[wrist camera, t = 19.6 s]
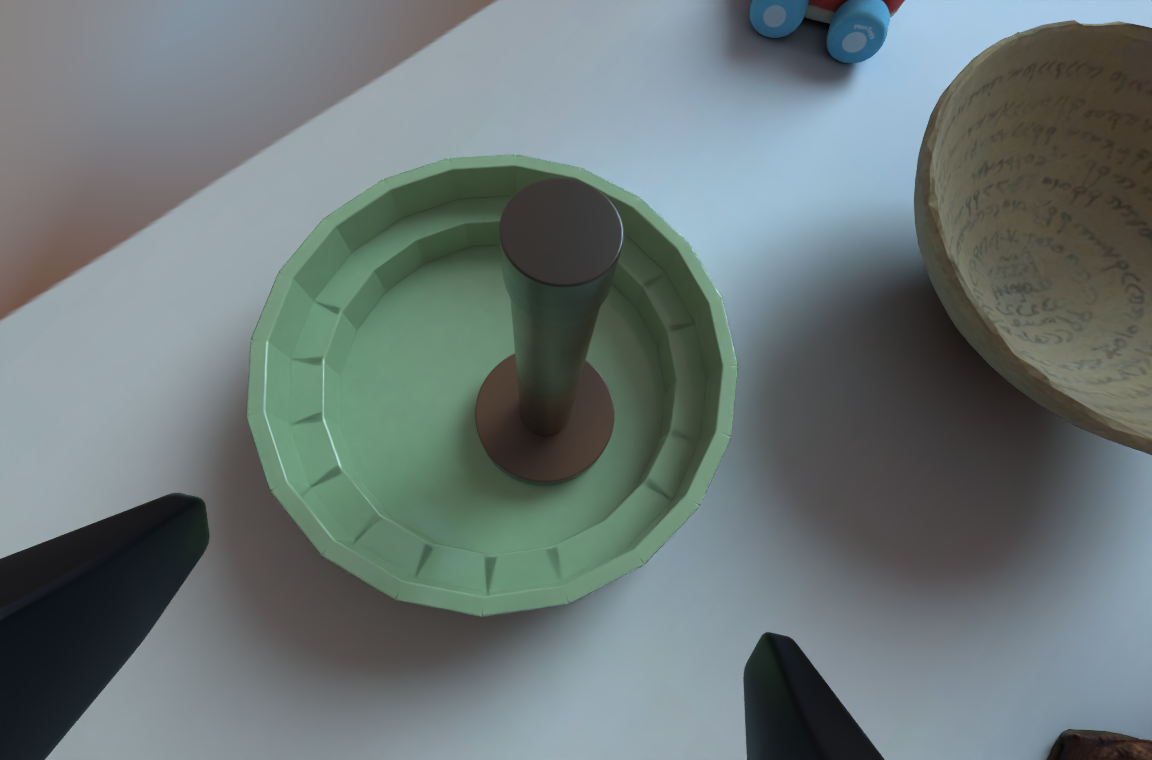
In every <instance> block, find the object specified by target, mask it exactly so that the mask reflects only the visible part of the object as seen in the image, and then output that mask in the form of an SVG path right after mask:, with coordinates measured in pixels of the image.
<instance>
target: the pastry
mask: <svg viewBox="0 0 1152 760" xmlns="http://www.w3.org/2000/svg"><path fill="white" fill-rule="evenodd" d="M1049 760H1152V741H1149V740H1143V739H1138V738H1134V737H1131V736H1127V735H1122V734H1117V733H1111V732H1106V731H1093V730H1072V729H1069V730H1066V731H1064V733H1063V735H1062V736H1061V738H1060V739H1059V740H1058V741H1057V743H1056V745H1055V747H1054V749H1053V752H1052V754H1051V756H1050V759H1049Z"/></svg>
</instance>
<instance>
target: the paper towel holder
mask: <svg viewBox="0 0 1152 760" xmlns="http://www.w3.org/2000/svg"><path fill="white" fill-rule="evenodd" d="M499 242H500V251H501V260H502V269H503V279H504V284H505V287H506V290H507V292H508V294H509V296H510V300H511V312H512V323H513V334H514V345H515V354H513V355H511V356H509V357H507V358H506V359H504V360H503V361H501V362H500V363H499V364H498V365H497V366H496V367H495V368H494V369H493V370H492V371H491V372H490V373H489V375H488V376H487V377H486V379H485V380H484V382H483V384H482V386H481V388H480V391H479V394H478V397H477V401H476V407H475V423H476V428H477V432H478V435H479V438H480V441H481V443H482V445H483V447H484V449H485V451H486V453H487V454H488V456H489V457H490V459H491V460H492V461H493V462H494V464H495V465H496V466H497V467H498V468H499V469H501V470H502V471H503V472H504V473H506V474H507V475H509V476H511V477H512V478H514V479H517V480H519V481H521V482H525V483H528V484H533V485H546V486H547V485H556V484H560V483H565V482H567V481H570V480H572V479H574V478H576V477H578V476H580V475H581V474H583V473H584V472H586V471H587V470H588V469H589V468H590V467H591V466H592V465H593V464H594V463H595V462H596V461H597V460H598V458H599V457H600V456H601V454H602V453H603V451H604V450H605V448H606V446H607V445H608V442H609V440H610V438H611V435H612V431H613V427H614V420H615V410H614V402H613V398H612V395H611V392H610V389H609V387H608V385H607V383H606V381H605V380H604V378H603V377H602V375H601V374H600V373H599V371H598V370H597V369H596V368H595V367H594V366H593V365H592V364H590V363H589V362H588V361H587V360H586V357H587V353H588V350H589V346H590V342H591V339H592V335H593V331H594V328H595V324H596V320H597V317H598V313H599V310H600V306H601V305H602V304H603V302H604V301H605V299H606V298H607V296H608V294H609V291H610V288H611V285H612V281H613V278H614V274H615V271H616V268H617V264H618V261H619V257H620V254H621V251H622V247H623V242H624V229H623V224H622V220H621V217H620V215H619V213H618V211H617V209H616V208H615V206H614V205H613V203H612V202H611V201H610V200H609V199H608V198H607V197H606V196H605V195H604V194H603V193H602V192H600V191H599V190H598V189H596V188H594V187H593V186H591V185H589V184H586V183H584V182H581V181H577V180H573V179H567V178H551V179H544V180H541V181H537V182H535V183H532V184H530V185H528V186H526V187H524V188H523V189H521V190H520V191H519V192H517V193H516V194H515V195H514V196H513V197H512V198H511V200H510V201H509V202H508V203H507V205H506V207H505V208H504V210H503V212H502V215H501V218H500V222H499Z"/></svg>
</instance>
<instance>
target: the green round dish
mask: <svg viewBox="0 0 1152 760" xmlns="http://www.w3.org/2000/svg"><path fill="white" fill-rule="evenodd" d="M551 178H567V179H573V180H577V181H581V182H584V183H586V184H589V185H591V186H593V187H594V188H596V189H598V190H599V191H600V192H602V193H603V194H604V195H605V196H606V197H607V198H608V199H609V200H610V201H611V202H612V203H613V205H614V206H615V208H616V209H617V211H618V213H619V215H620V217H621V220H622V224H623V229H624V242H623V247H622V251H621V254H620V257H619V261H618V264H617V268H616V271H615V274H614V278H613V281H612V285H611V288H610V291H609V294H608V296H607V298H606V299H605V301H604V302H603V304H602V305H601V306H600V310H599V313H598V317H597V320H596V324H595V328H594V331H593V335H592V339H591V342H590V346H589V350H588V353H587V357H586V360H587V361H588V362H589V363H590V364H592V365H593V366H594V367H595V368H596V369H597V370H598V371H599V373H600V374H601V375H602V377H603V378H604V380H605V381H606V383H607V385H608V387H609V389H610V392H611V395H612V398H613V402H614V410H615V420H614V427H613V431H612V435H611V438H610V440H609V442H608V445H607V446H606V448H605V450H604V451H603V453H602V454H601V456H600V457H599V458H598V460H597V461H596V462H595V463H594V464H593V465H592V466H591V467H590V468H589V469H588V470H587V471H586V472H584V473H583V474H581V475H580V476H578V477H576V478H574V479H572V480H570V481H567V482H565V483H560V484H556V485H547V486H546V485H533V484H528V483H525V482H521V481H519V480H517V479H514V478H512V477H511V476H509V475H507V474H506V473H504V472H503V471H502V470H501V469H499V468H498V467H497V466H496V465H495V464H494V462H493V461H492V460H491V459H490V457H489V456H488V454H487V453H486V451H485V449H484V447H483V445H482V443H481V441H480V438H479V435H478V432H477V428H476V423H475V407H476V401H477V397H478V394H479V391H480V388H481V386H482V384H483V382H484V380H485V379H486V377H487V376H488V375H489V373H490V372H491V371H492V370H493V369H494V368H495V367H496V366H497V365H498V364H499V363H500V362H501V361H503V360H504V359H506V358H507V357H509V356H511V355H513V354H515V345H514V334H513V323H512V312H511V300H510V296H509V294H508V292H507V290H506V287H505V284H504V279H503V269H502V260H501V251H500V242H499V222H500V218H501V215H502V212H503V210H504V208H505V207H506V205H507V203H508V202H509V201H510V200H511V198H512V197H513V196H514V195H515V194H516V193H517V192H519V191H520V190H521V189H523V188H524V187H526V186H528V185H530V184H532V183H535V182H537V181H541V180H544V179H551ZM251 340H252V341H251V342H250V361H249V380H248V400H247V420H248V423H249V426H250V429H251V432H252V436H253V439H254V442H255V445H256V448H257V451H258V455H259V458H260V461H261V464H262V467H263V471H264V474H265V477H266V480H267V483H268V487H269V490H270V491H271V493H272V494H273V495H274V497H275V498H276V499H277V501H278V502H279V503H280V504H281V506H282V507H283V508H284V509H285V511H286V512H287V513H288V514H289V516H290V517H291V518H292V519H293V521H294V522H295V523H296V525H297V526H298V527H299V528H300V530H301V531H302V532H303V533H304V535H305V536H306V537H307V538H308V540H309V541H310V542H311V544H312V545H313V546H314V547H315V549H316V550H317V551H318V552H319V554H321V555H322V556H323V557H324V558H325V559H327V560H329V561H330V562H332V563H334V564H335V565H337V566H339V567H340V568H342V569H344V570H345V571H347V572H349V573H350V574H352V575H354V576H355V577H357V578H359V579H360V580H362V581H364V582H365V583H367V584H369V585H370V586H372V587H374V588H375V589H377V590H379V591H380V592H382V593H384V594H385V595H387V596H389V597H390V598H392V599H396V600H397V601H401V602H406V603H411V604H417V605H422V606H427V607H432V608H437V609H442V610H447V611H453V612H458V613H463V614H468V615H473V616H478V617H480V616H483V617H486V616H493V615H499V614H506V613H513V612H520V611H526V610H533V609H540V608H547V607H554V606H560V605H566V604H568V603H572V602H574V601H576V600H578V599H580V598H582V597H584V596H585V595H587V594H589V593H591V592H593V591H595V590H597V589H599V588H601V587H603V586H605V585H607V584H609V583H611V582H612V581H614V580H616V579H618V578H620V577H622V576H624V575H626V574H628V573H630V572H632V571H634V570H636V569H637V568H639V567H641V566H643V564H646V562H647V561H648V560H649V559H650V558H651V557H652V556H653V555H654V554H655V553H656V552H657V551H658V550H659V549H660V548H661V547H662V546H663V545H664V544H665V542H666V541H667V540H668V539H669V538H670V537H671V536H672V535H673V534H674V533H675V532H676V531H677V530H678V529H679V528H680V527H681V526H682V525H683V524H684V522H685V521H686V520H687V519H688V518H689V517H690V516H691V515H692V514H693V513H694V512H695V511H696V510H697V509H698V507H699V506H700V505H701V503H702V500H703V498H704V496H705V494H706V492H707V489H708V487H709V485H710V483H711V481H712V478H713V476H714V474H715V472H716V470H717V467H718V465H719V463H720V461H721V459H722V456H723V454H724V452H725V450H726V448H727V445H728V443H729V441H730V437H731V432H732V422H733V411H734V401H735V391H736V380H737V370H738V368H737V366H738V364H737V360H736V356H735V351H734V347H733V343H732V338H731V334H730V330H729V325H728V321H727V316H726V312H725V308H724V303H723V300H722V297H721V296H720V294H719V292H718V291H717V289H716V287H715V286H714V284H713V282H712V281H711V279H710V277H709V276H708V274H707V272H706V270H705V269H704V267H703V265H702V264H701V262H700V260H699V259H698V257H697V255H696V254H695V252H694V250H693V249H692V247H691V245H690V243H688V242H687V240H685V239H684V238H683V237H682V236H681V235H680V234H679V233H678V232H677V231H676V230H675V229H673V228H672V227H671V226H670V225H669V224H668V223H667V222H666V221H665V220H664V219H663V218H662V217H660V216H659V215H658V214H657V213H656V212H655V211H654V210H653V209H652V208H651V207H650V206H649V205H647V204H646V203H645V202H644V201H643V200H642V199H640V197H638V196H636V195H634V194H632V193H630V192H628V191H626V190H624V189H622V188H620V187H618V186H616V185H614V184H612V183H610V182H609V181H607V180H605V179H603V178H601V177H599V176H597V175H595V174H593V173H591V172H589V171H587V170H585V169H583V168H579V167H575V166H570V165H565V164H560V163H555V162H550V161H546V160H541V159H536V158H531V157H526V156H522V155H496V156H477V157H458V158H449V159H444V160H441V161H438V162H435V163H432V164H429V165H425V166H422V167H419V168H416V169H413V170H410V171H407V172H404V173H401V174H398V175H395V176H392V177H388V178H385V179H384V180H381V181H380V182H378V183H377V184H375V185H374V186H372V187H371V188H369V189H368V190H366V191H364V192H363V193H361V194H360V195H358V196H357V197H355V198H354V199H352V200H351V201H349V202H348V203H346V204H345V205H343V206H342V207H340V208H339V209H337V210H336V211H334V212H333V213H331V214H330V215H328V216H327V217H326V218H324V219H323V220H322V221H321V222H320V223H319V225H318V226H317V227H316V228H315V229H314V231H313V232H312V233H311V234H310V235H309V236H308V238H307V239H306V240H305V241H304V242H303V244H302V245H301V246H300V247H299V248H298V250H297V251H296V252H295V253H294V254H293V255H292V257H291V258H290V259H289V260H288V261H287V263H286V264H285V265H284V266H283V267H282V269H281V270H280V271H279V274H278V275H277V277H276V280H275V282H274V285H273V287H272V289H271V292H270V294H269V297H268V299H267V302H266V304H265V307H264V309H263V311H262V314H261V316H260V319H259V321H258V324H257V326H256V328H255V331H254V333H253V336H252V338H251Z"/></svg>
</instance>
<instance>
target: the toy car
mask: <svg viewBox="0 0 1152 760" xmlns="http://www.w3.org/2000/svg"><path fill="white" fill-rule="evenodd" d="M903 2H904V0H752V3H751V7H750V20H751V23H752V25H753V27H754V28H755V30H756V31H757V32H759V33H760V34H761V35H763V36H766V37H770V38H779V37H783V36H786V35H788V34H790V33H791V32H793V31H794V30H795V29H796V28H797V27H798V26H799V25H800V23H801V22H802V20H803V18H804V17H805V18H809V19H812V20H816V21H820V22H825V23H829V24H830V26H829V30H828V35H827V49H828V51H829V53H830V54H831V56H832V57H834V58H835V59H836V60H838V61H840V62H844V63H858V62H862V61H864V60H866V59H868V58H870V57H871V56H873V55H874V54H875V53H876V52H877V51H878V50H879V49H880V48H881V46H882V45H883V43H884V41H885V38H886V35H887V30H888V25H889V21H890V18H891V17H892V16H893V15H894V14H895V13H896V12H897V10H898V9H899V7H900V6H901V5H902V3H903Z"/></svg>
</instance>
